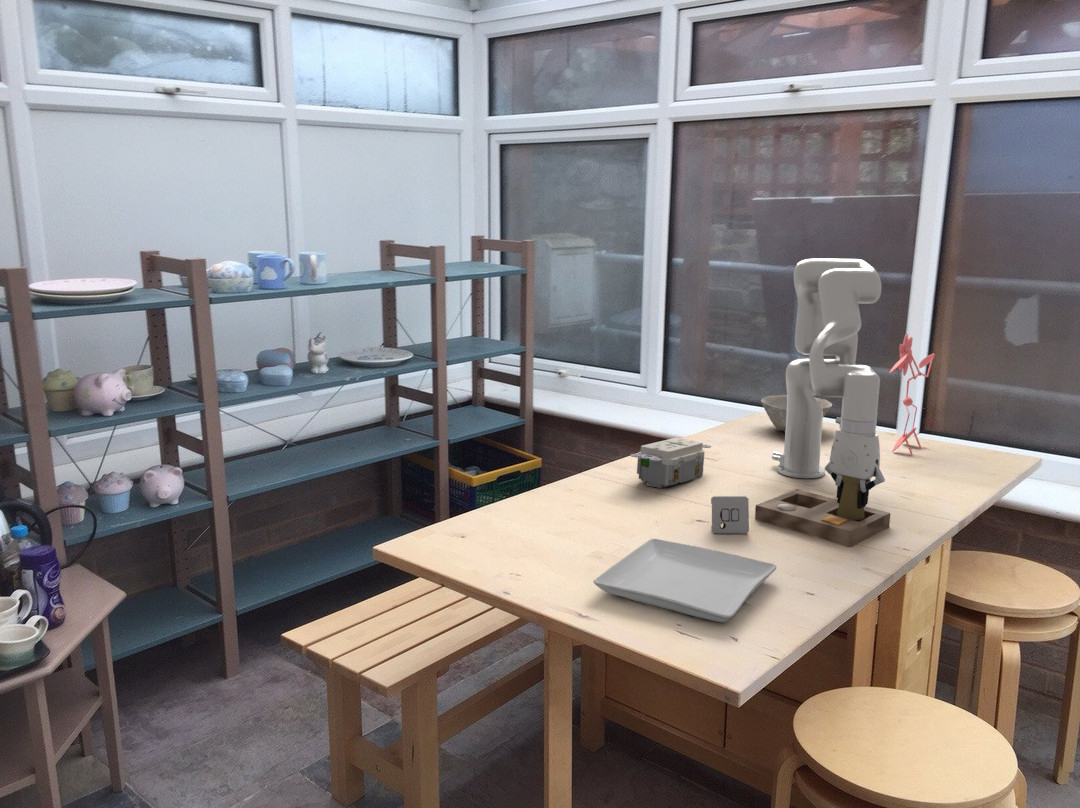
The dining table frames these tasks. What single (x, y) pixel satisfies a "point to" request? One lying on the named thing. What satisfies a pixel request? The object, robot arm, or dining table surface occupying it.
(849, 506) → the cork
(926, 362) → the figurine
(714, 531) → the electrical switch
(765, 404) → the ceramic bowl
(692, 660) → the dining table surface
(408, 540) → the dining table surface
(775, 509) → the socket board
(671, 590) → the square plate
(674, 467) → the electrical outlet
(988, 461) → the dining table surface
